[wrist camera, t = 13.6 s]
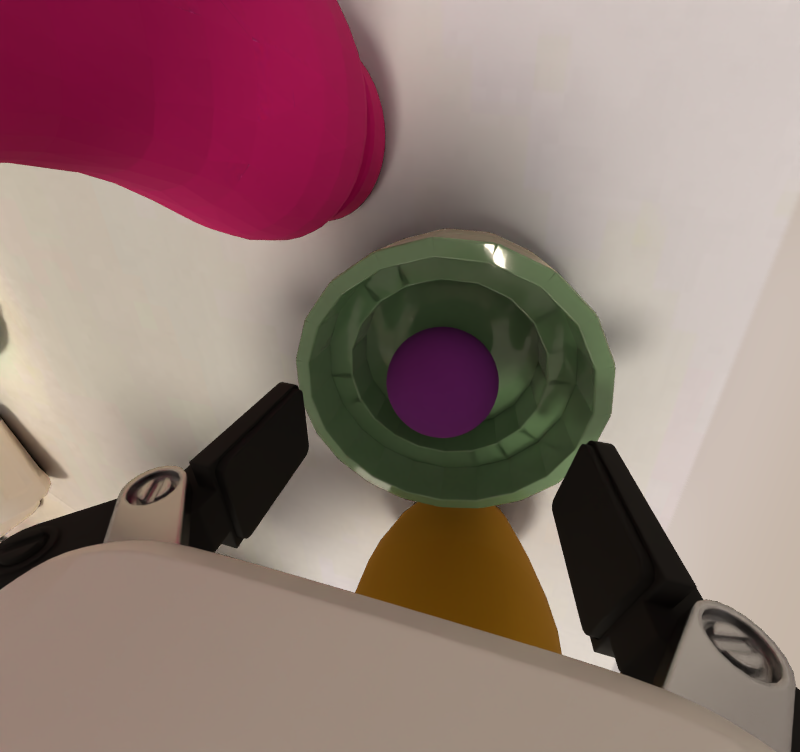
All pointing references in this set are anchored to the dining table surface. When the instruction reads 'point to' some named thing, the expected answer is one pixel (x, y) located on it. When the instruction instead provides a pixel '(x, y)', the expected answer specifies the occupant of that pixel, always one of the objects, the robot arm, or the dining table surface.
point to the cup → (18, 477)
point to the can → (16, 520)
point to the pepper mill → (197, 106)
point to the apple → (462, 573)
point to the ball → (442, 382)
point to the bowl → (501, 334)
